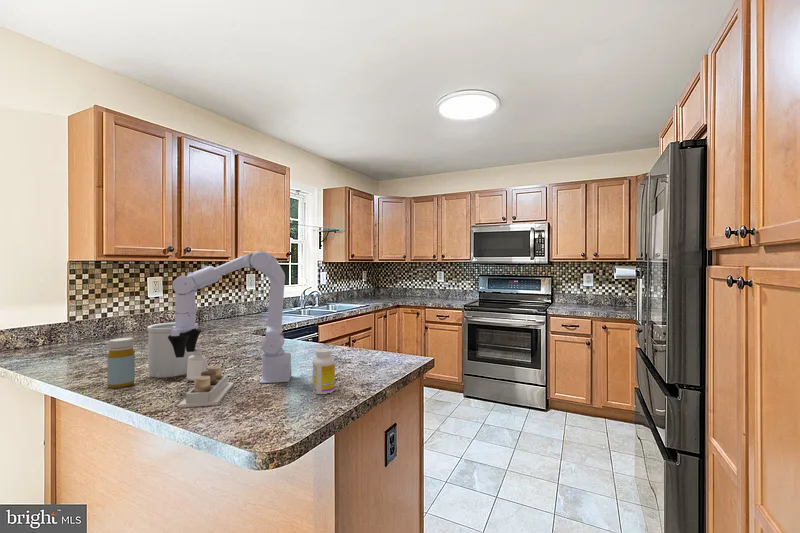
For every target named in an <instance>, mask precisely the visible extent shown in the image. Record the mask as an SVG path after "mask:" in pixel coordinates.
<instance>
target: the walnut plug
mask: <svg viewBox="0 0 800 533" xmlns="http://www.w3.org/2000/svg"><path fill="white" fill-rule="evenodd" d="M201 376H210V386H211V385H216V371H213V370H211V371H207V370H206V371H204V372H202V373H201Z"/></svg>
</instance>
